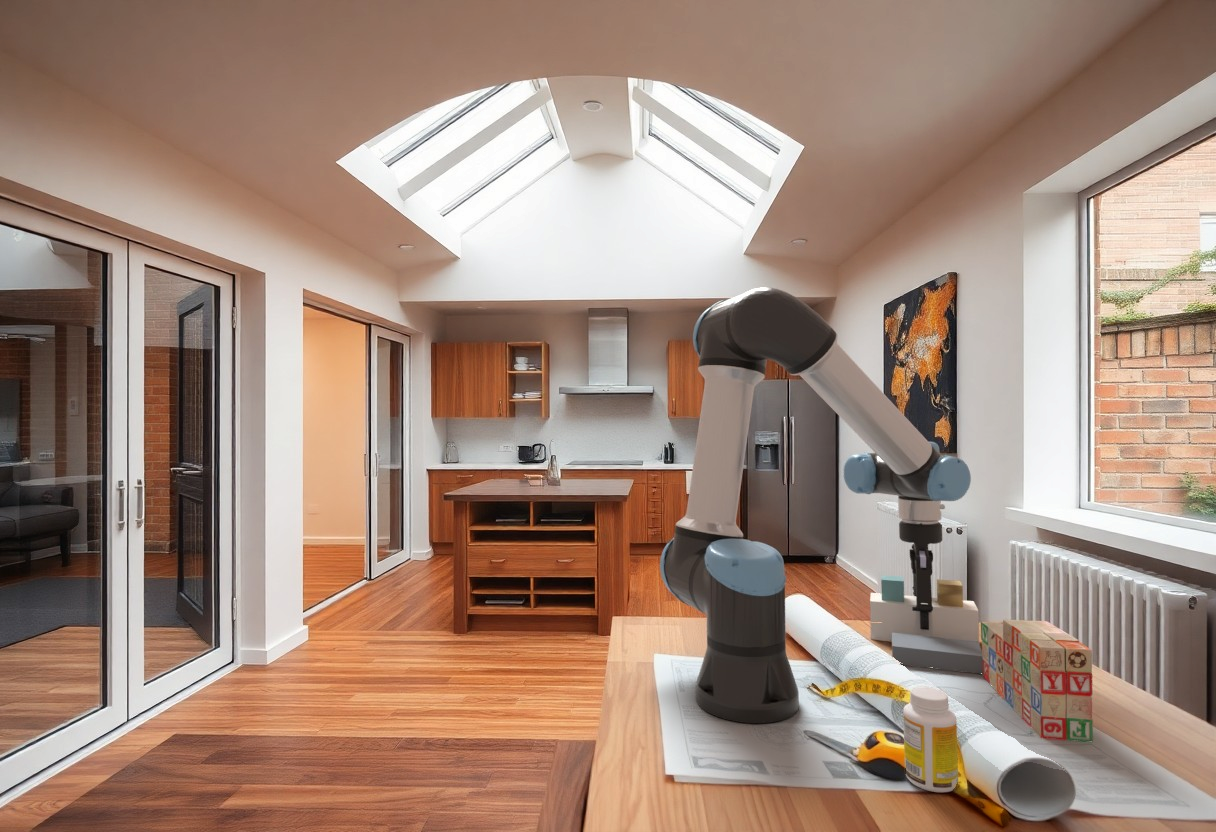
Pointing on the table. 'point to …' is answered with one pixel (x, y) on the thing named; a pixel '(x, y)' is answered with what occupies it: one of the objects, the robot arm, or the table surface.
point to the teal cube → (892, 588)
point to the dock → (937, 652)
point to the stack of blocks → (1041, 676)
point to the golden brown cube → (949, 593)
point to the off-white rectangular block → (903, 619)
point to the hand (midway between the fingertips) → (923, 638)
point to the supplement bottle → (930, 740)
